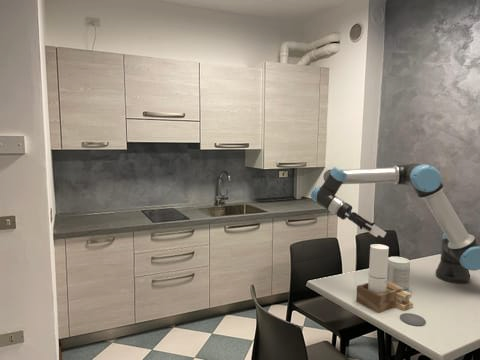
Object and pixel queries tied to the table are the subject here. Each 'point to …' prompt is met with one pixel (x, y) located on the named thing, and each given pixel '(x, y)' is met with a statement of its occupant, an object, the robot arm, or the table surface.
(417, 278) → the table surface
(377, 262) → the cylindrical container
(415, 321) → the rubber mat
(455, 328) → the table surface
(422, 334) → the table surface
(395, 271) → the supplement tub
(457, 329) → the table surface
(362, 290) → the offcut rack
